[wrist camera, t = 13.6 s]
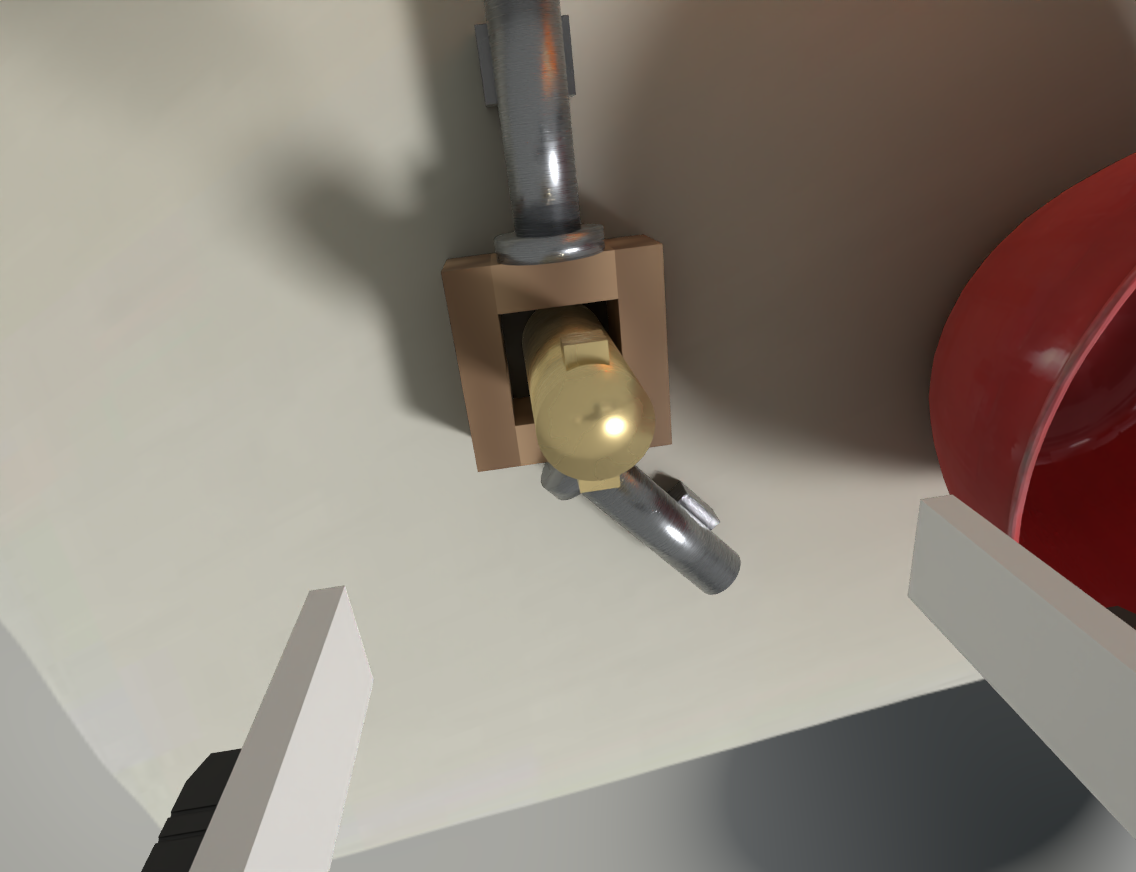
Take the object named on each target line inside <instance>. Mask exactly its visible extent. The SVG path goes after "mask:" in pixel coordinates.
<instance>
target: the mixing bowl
mask: <svg viewBox="0 0 1136 872" xmlns="http://www.w3.org/2000/svg"><path fill="white" fill-rule="evenodd" d="M929 407H930V420H931V427H932V434H933V440H934V445H935V449H936V454H937V457H938V461H939V464H940V468H941V471H942V474H943V478H944V481H945V483H946V486H947V489H948V491H949V494H950V495H954V496H955V497H956V498H958V499H959V500H961V501H962V502H963V503H965V504H966V505H967V506H969V507H970V508H971V509H973V510H974V511H975V512H977V513H978V514H979V515H981V516H982V517H983V518H985V519H986V520H988V521H989V522H990V523H992V524H993V525H994V526H996V527H997V528H998V529H1000V530H1001V531H1002V532H1004V533H1005V534H1006V535H1008V536H1009V537H1010V538H1012V539H1013V540H1015V541H1016V542H1017V543H1019V544H1020V545H1021V546H1023V547H1024V548H1025V549H1027V550H1028V551H1029V552H1031V553H1032V554H1033V555H1035V556H1036V557H1037V558H1039V559H1040V560H1042V561H1043V562H1044V563H1046V564H1047V565H1048V566H1050V567H1051V568H1052V569H1054V570H1055V571H1056V572H1058V573H1059V574H1060V575H1062V576H1063V577H1065V578H1066V579H1067V580H1069V581H1070V582H1071V583H1073V584H1074V585H1075V586H1077V587H1078V588H1079V589H1081V590H1082V591H1083V592H1085V593H1086V594H1087V595H1089V596H1090V597H1092V598H1093V599H1094V600H1096V601H1097V602H1098V603H1100V604H1101V605H1102V606H1104V607H1105V608H1107V607H1113V606H1120V607H1122V608H1124V609H1126V610H1128V611H1131V612H1133V613H1135V614H1136V152H1135V153H1133V154H1131V155H1129V156H1127V157H1125V158H1123V159H1121V160H1119V161H1117V162H1115V163H1113V164H1112V165H1110V166H1108V167H1106V168H1104V169H1102V170H1100V171H1099V172H1097V173H1095V174H1093V175H1091V176H1090V177H1088V178H1086V179H1084V180H1083V181H1081V182H1079V183H1077V184H1076V185H1074V186H1072V187H1070V188H1069V189H1067V190H1066V191H1064V192H1063V193H1061V194H1060V195H1059V196H1057V197H1056V198H1054V199H1053V200H1051V201H1050V202H1048V203H1047V204H1045V205H1044V206H1043V207H1041V208H1040V209H1038V210H1037V211H1035V212H1034V213H1033V214H1031V215H1030V216H1029V217H1028V218H1026V219H1025V220H1024V221H1023V222H1022V223H1021V224H1020V225H1019V226H1018V227H1017V228H1016V229H1015V230H1014V231H1013V232H1012V233H1010V234H1009V235H1008V236H1007V237H1006V238H1005V239H1004V240H1003V241H1002V242H1001V243H1000V244H999V245H998V246H997V247H996V248H995V249H994V250H993V251H992V252H991V254H990V255H989V256H988V257H987V258H986V259H985V261H984V262H983V263H982V264H981V266H980V267H979V268H978V270H977V271H976V272H975V273H974V275H973V276H972V277H971V279H970V280H969V281H968V283H967V284H966V286H965V287H964V289H963V290H962V292H961V294H960V296H959V298H958V300H957V302H956V304H955V305H954V307H953V309H952V311H951V313H950V315H949V317H948V319H947V321H946V323H945V325H944V328H943V331H942V334H941V337H940V339H939V343H938V346H937V349H936V352H935V355H934V360H933V366H932V372H931V380H930V390H929Z"/></svg>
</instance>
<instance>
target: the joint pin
mask: <svg viewBox="0 0 1136 872" xmlns="http://www.w3.org/2000/svg"><path fill="white" fill-rule="evenodd" d="M522 347H523V354H524V360H525V366H526V373H527V379H528V385H529V392H530V398H531V404H532V411H533V417H534V423H535V430H536V436H537V441H538V444H539V447H540V450H541V452H542V453H543V455H544V457H545V458H546V459H547V461H548V462H549V463H550V464H551V465H552V466H553V467H554V468H555V469H557V470H558V471H559V472H561V473H563V474H564V475H567V476H569V477H571V478H575V479H577V482H578V486H579V489H580V493H584V492H591V491H598V490H604V489H611V488H618V487H620V476H619V475H620V474H622V473H624V472H626V471H627V470H629V469H630V468H632V467H633V466H634V465H635V464H636V463H637V462H638V461H639V460H640V459H641V458H642V457H643V456H644V454H645V453H646V451H647V450H648V448H649V446H650V444H651V442H652V439H653V436H654V431H655V413H654V409H653V405H652V403H651V400H650V398H649V397H648V395H647V393H646V392H645V390H644V389H643V387H642V386H641V384H640V383H639V381H638V379H637V378H636V376H635V375H634V373H633V372H632V370H631V369H630V367H629V366H628V364H627V363H626V361H625V360H624V358H623V356H622V355H621V353H620V352H619V350H618V349H617V347H616V346H615V344H614V343H613V341H612V340H611V338H610V337H609V335H608V333H607V332H606V330H605V329H604V327H603V326H602V324H601V323H600V321H599V320H598V318H597V317H596V315H595V314H594V313H593V312H592V311H591V310H590V309H589V308H587V307H586V306H584V305H582V304H574V305H567V306H559V307H551V308H544V309H538V310H537V311H535V312H534V313H533V315H532V316H531V317H530V318H529V320H528V321H527V323H526V325H525V328H524V331H523V336H522Z"/></svg>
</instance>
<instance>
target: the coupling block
mask: <svg viewBox="0 0 1136 872" xmlns="http://www.w3.org/2000/svg"><path fill="white" fill-rule="evenodd" d="M604 241H605V250H604V251H603V252H602V253H599V254H597V255H594V256H590V257H586V258H582V259H577V260H572V261H565V262H559V263H551V264H541V265H522V266H514V265H503V264H499V263H498V262H497V258H496V253H491V254H483V255H475V256H467V257H459V258H451V259H447V260H446V262H445V265H444V267H443V269H442V271H441V275H442V280H443V286H444V291H445V297H446V302H447V307H448V313H449V318H450V324H451V329H452V334H453V340H454V345H455V351H456V356H457V361H458V367H459V372H460V377H461V383H462V388H463V394H464V399H465V404H466V410H467V415H468V421H469V426H470V431H471V437H472V442H473V448H474V453H475V458H476V464H477V469H478V472H481V471H488V470H495V469H502V468H509V467H516V466H523V465H530V464H537V463H544V462H548V461H547V459H546V458H545V457H544V455H543V453H542V452H541V450H540V447H539V444H538V441H537V436H536V430H535V423H534V417H533V411H532V404H531V398H530V396H527V397H520V398H513V395H512V388H511V382H510V375H509V369H508V362H507V356H506V349H505V342H504V336H503V329H502V323H501V316H500V314H506V313H513V312H521V311H529V310H536V309H544V308H551V307H559V306H567V305H574V304H582V303H590V302H597V301H605V300H606V303H607V315H608V327H609V337H610V338H611V340H612V341H613V343H614V344H615V346H616V347H617V349H618V350H619V352H620V353H621V355H622V356H623V358H624V360H625V361H626V363H627V364H628V366H629V367H630V369H631V370H632V372H633V373H634V375H635V376H636V378H637V379H638V381H639V383H640V384H641V386H642V387H643V389H644V390H645V392H646V393H647V395H648V397H649V398H650V400H651V403H652V405H653V409H654V413H655V431H654V436H653V439H652V442H651V444H650V446H649V447H656V446H663V445H670V444H672V435H671V414H670V392H669V371H668V349H667V327H666V306H665V284H664V263H663V244H662V243H660V242H658V241H656V240H654V239H652V238H650V237H648V236H646V235H644V234H642V235H634V236H626V237H618V238H610V239H604Z"/></svg>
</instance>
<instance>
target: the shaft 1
mask: <svg viewBox="0 0 1136 872" xmlns="http://www.w3.org/2000/svg"><path fill="white" fill-rule="evenodd" d="M484 7H485V14H486V22H487V24H479V25H475V32H476V39H477V46H478V53H479V60H480V67H481V74H482V81H483V88H484V95H485V102H486V107H491V106H498V110H499V117H500V125H501V132H502V139H503V147H504V154H505V162H506V169H507V176H508V184H509V191H510V198H511V206H512V213H513V221H514V228H515V232H511V233H507V234H503V235H500V236H497V237H495V238H494V244H495V251H496V258H497V262H498V263H499V264H503V265H514V266H522V265H541V264H551V263H559V262H565V261H572V260H577V259H582V258H586V257H590V256H594V255H597V254H599V253H602V252H603V251H604V250H605V241H604V229H603V225H599V224H581V221H580V210H579V200H578V189H577V179H576V168H575V158H574V147H573V137H572V126H571V116H570V105H569V98H570V97H573V96H574V95H576V92H575V81H574V70H573V59H572V48H571V37H570V26H569V15H563V16H561V11H560V0H484Z"/></svg>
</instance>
